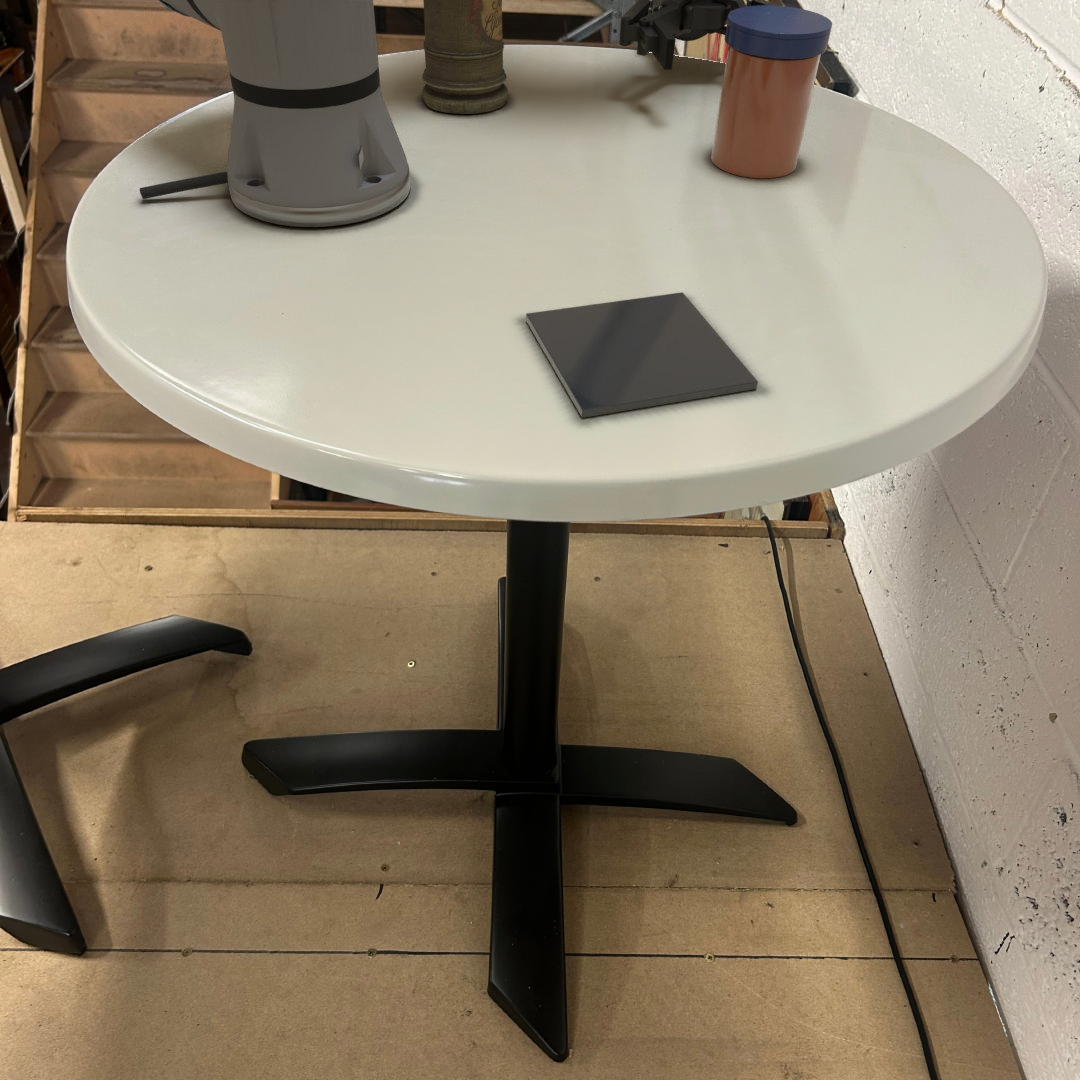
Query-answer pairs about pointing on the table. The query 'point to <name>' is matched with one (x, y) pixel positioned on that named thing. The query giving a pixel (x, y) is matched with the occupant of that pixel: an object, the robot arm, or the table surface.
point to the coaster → (637, 354)
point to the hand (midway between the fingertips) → (738, 53)
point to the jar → (762, 114)
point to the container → (464, 56)
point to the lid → (778, 32)
